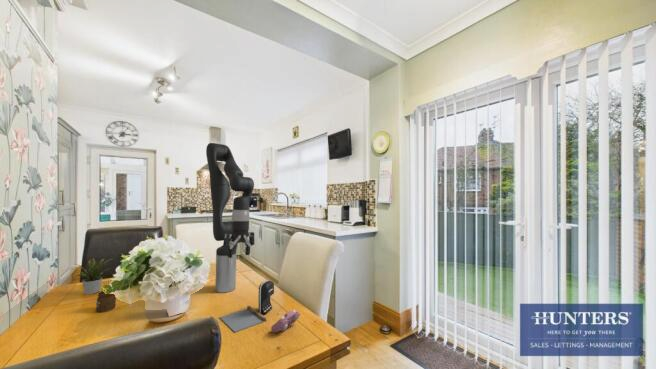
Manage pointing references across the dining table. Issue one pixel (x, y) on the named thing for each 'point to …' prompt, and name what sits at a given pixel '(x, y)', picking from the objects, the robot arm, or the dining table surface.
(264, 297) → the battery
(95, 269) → the house plant
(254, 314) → the strip
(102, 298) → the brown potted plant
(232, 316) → the mat
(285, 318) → the purple lumpy piece
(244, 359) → the dining table surface
